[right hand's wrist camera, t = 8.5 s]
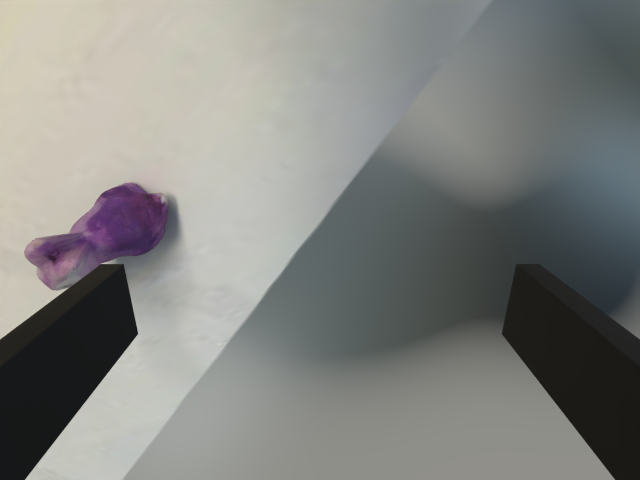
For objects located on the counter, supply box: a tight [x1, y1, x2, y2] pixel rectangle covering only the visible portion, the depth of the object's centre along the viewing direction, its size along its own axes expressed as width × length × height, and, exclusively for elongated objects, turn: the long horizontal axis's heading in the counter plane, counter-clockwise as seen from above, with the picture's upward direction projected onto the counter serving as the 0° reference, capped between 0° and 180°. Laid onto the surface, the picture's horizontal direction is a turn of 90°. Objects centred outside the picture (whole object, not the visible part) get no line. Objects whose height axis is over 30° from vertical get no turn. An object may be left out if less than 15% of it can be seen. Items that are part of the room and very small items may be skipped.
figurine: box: [25, 183, 168, 290], centre depth 39 cm, size 9×10×15 cm
